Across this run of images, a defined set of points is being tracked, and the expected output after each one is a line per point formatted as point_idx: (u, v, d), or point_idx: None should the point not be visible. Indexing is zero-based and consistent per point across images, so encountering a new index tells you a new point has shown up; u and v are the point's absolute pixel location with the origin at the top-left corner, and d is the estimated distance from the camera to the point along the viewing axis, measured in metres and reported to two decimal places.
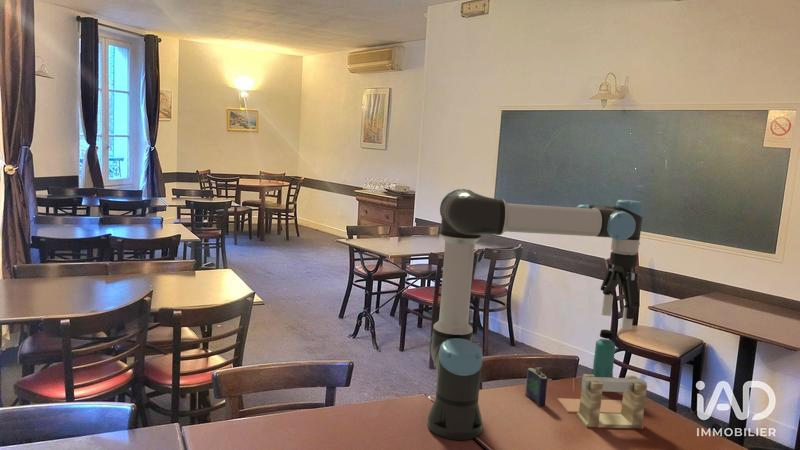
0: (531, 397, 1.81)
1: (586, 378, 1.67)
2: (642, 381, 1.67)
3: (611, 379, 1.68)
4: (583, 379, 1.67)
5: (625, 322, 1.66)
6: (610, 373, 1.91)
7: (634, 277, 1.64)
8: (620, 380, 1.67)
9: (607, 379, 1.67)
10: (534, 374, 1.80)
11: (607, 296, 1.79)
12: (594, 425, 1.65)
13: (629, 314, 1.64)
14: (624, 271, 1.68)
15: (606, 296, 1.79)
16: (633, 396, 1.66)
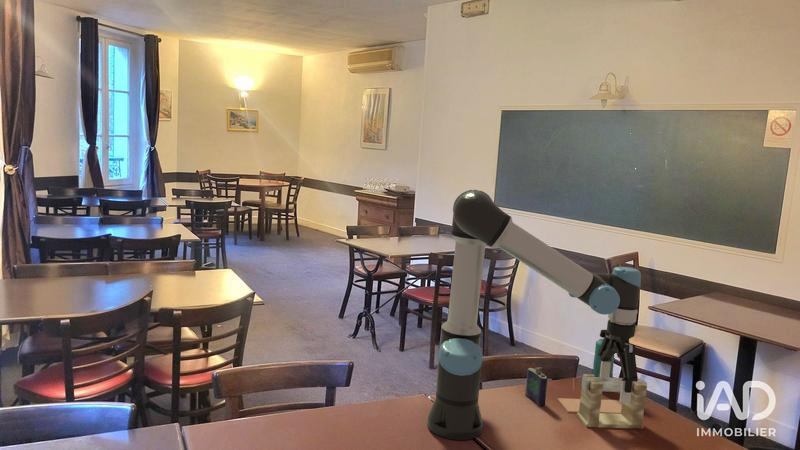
0: (531, 397, 1.81)
1: (586, 378, 1.67)
2: (642, 381, 1.67)
3: (611, 379, 1.68)
4: (583, 379, 1.67)
5: (623, 396, 1.60)
6: (610, 373, 1.91)
7: (632, 349, 1.59)
8: (620, 380, 1.67)
9: (607, 379, 1.67)
10: (534, 374, 1.80)
11: (605, 363, 1.73)
12: (594, 425, 1.65)
13: (627, 388, 1.59)
14: (622, 342, 1.62)
15: (604, 363, 1.73)
16: (633, 396, 1.66)
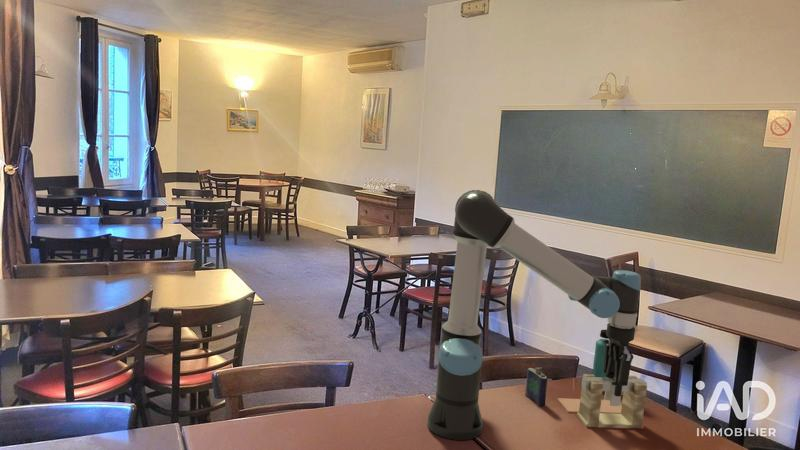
0: (531, 397, 1.81)
1: (586, 378, 1.67)
2: (642, 381, 1.67)
3: (611, 379, 1.68)
4: (583, 379, 1.67)
5: (613, 399, 1.66)
6: None
7: (630, 359, 1.60)
8: None
9: (607, 379, 1.67)
10: (534, 374, 1.80)
11: None
12: (594, 425, 1.65)
13: (617, 391, 1.64)
14: (621, 347, 1.62)
15: None
16: (633, 396, 1.66)
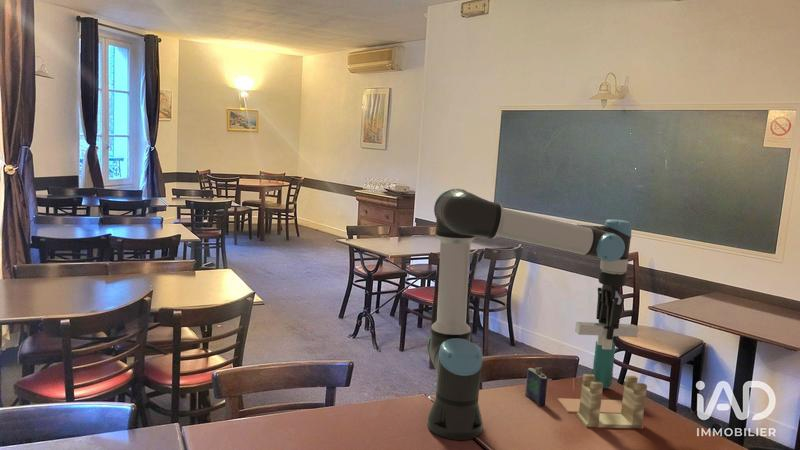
0: (531, 397, 1.81)
1: (579, 322, 1.74)
2: (633, 326, 1.75)
3: (603, 324, 1.75)
4: (576, 324, 1.75)
5: (605, 343, 1.73)
6: (610, 373, 1.91)
7: (621, 302, 1.67)
8: None
9: (600, 324, 1.74)
10: (534, 374, 1.80)
11: None
12: (594, 425, 1.65)
13: (609, 335, 1.71)
14: (613, 291, 1.69)
15: None
16: (633, 396, 1.66)
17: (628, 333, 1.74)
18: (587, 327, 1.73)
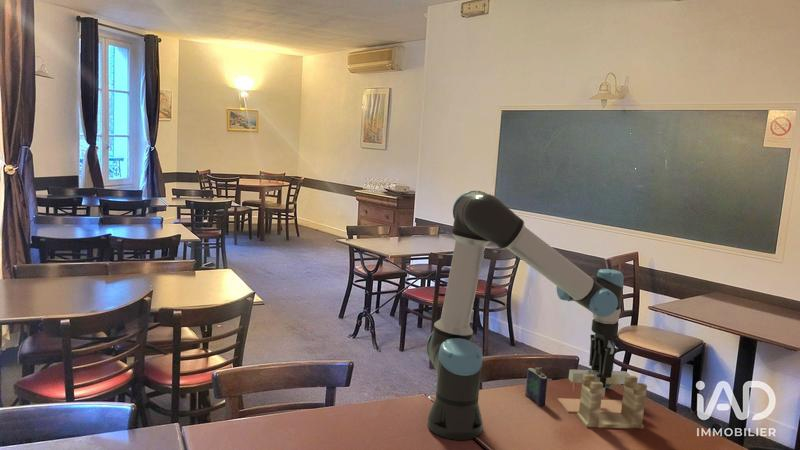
0: (531, 397, 1.81)
1: (573, 370, 1.77)
2: (626, 373, 1.78)
3: (596, 371, 1.78)
4: (570, 372, 1.77)
5: None
6: None
7: (613, 352, 1.70)
8: None
9: (593, 371, 1.77)
10: (534, 374, 1.80)
11: None
12: (594, 425, 1.65)
13: None
14: (605, 341, 1.72)
15: None
16: (633, 396, 1.66)
17: (621, 380, 1.77)
18: (580, 376, 1.75)
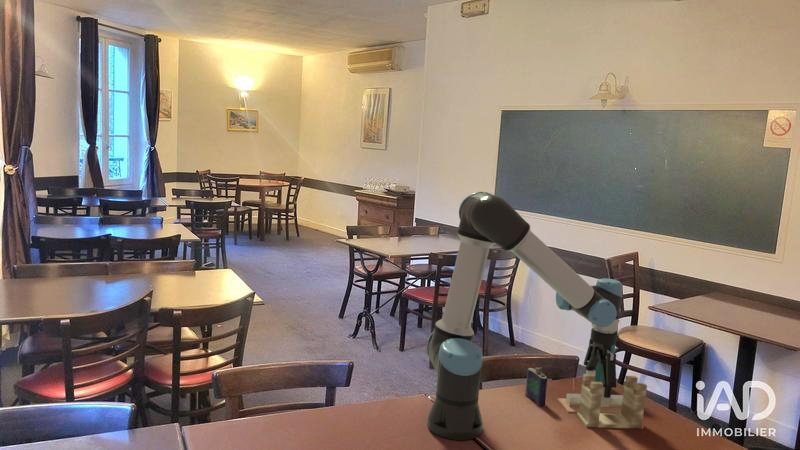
0: (531, 397, 1.81)
1: (570, 394, 1.78)
2: (622, 397, 1.79)
3: None
4: (567, 396, 1.78)
5: (603, 401, 1.72)
6: None
7: (613, 358, 1.70)
8: None
9: None
10: (534, 374, 1.80)
11: (590, 372, 1.83)
12: (594, 425, 1.65)
13: (607, 393, 1.71)
14: (604, 349, 1.73)
15: (589, 372, 1.83)
16: (633, 396, 1.66)
17: (617, 404, 1.78)
18: (577, 400, 1.76)
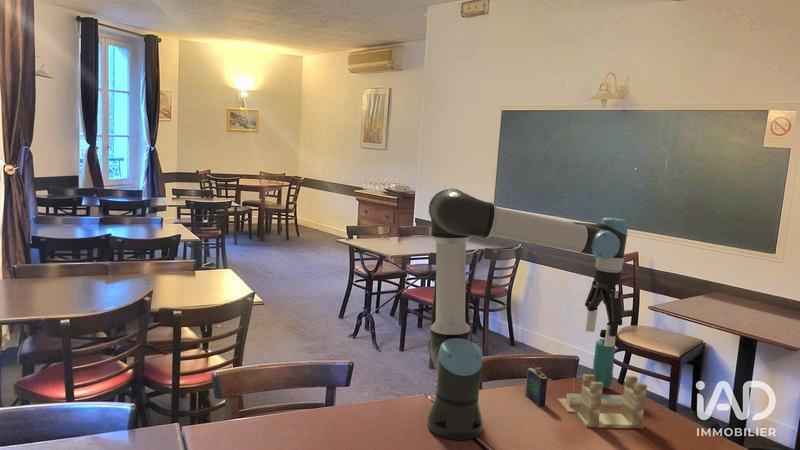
0: (531, 397, 1.81)
1: (570, 394, 1.78)
2: (622, 397, 1.79)
3: None
4: (567, 396, 1.78)
5: (608, 340, 1.67)
6: (610, 373, 1.91)
7: (618, 295, 1.66)
8: None
9: None
10: (534, 374, 1.80)
11: (591, 312, 1.80)
12: (594, 425, 1.65)
13: (612, 332, 1.66)
14: (608, 289, 1.69)
15: (590, 312, 1.80)
16: (633, 396, 1.66)
17: (617, 404, 1.78)
18: (577, 400, 1.76)
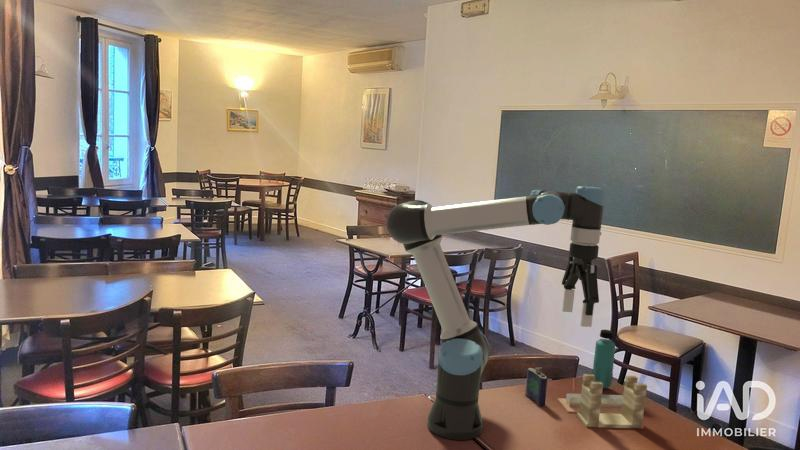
0: (531, 397, 1.81)
1: (570, 394, 1.78)
2: (622, 397, 1.79)
3: None
4: (567, 396, 1.78)
5: (584, 319, 1.53)
6: (610, 373, 1.91)
7: (594, 270, 1.51)
8: None
9: None
10: (534, 374, 1.80)
11: (568, 291, 1.66)
12: (594, 425, 1.65)
13: (588, 310, 1.51)
14: (584, 263, 1.54)
15: (567, 291, 1.66)
16: (633, 396, 1.66)
17: (617, 404, 1.78)
18: (577, 400, 1.76)
